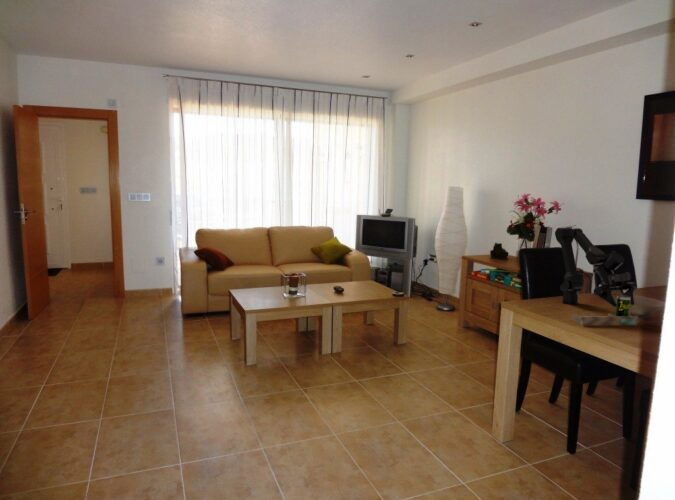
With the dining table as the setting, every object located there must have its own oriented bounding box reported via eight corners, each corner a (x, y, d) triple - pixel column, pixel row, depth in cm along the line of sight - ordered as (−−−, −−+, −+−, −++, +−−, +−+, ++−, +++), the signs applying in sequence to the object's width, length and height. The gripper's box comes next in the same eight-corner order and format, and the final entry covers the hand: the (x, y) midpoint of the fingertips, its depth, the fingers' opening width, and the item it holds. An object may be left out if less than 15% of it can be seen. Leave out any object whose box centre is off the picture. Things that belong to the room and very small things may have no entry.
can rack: (581, 325, 200) (582, 316, 200) (571, 319, 209) (572, 311, 208) (637, 325, 200) (638, 316, 199) (625, 319, 209) (626, 310, 208)
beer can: (612, 319, 208) (615, 294, 206) (626, 320, 207) (628, 294, 205) (616, 323, 203) (619, 297, 201) (630, 324, 201) (632, 298, 200)
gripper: (600, 267, 203) (618, 297, 194) (635, 264, 207) (654, 294, 198) (585, 280, 212) (602, 310, 203) (620, 278, 216) (637, 307, 207)
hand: (624, 305), depth 203 cm, fingers open, 9 cm apart
